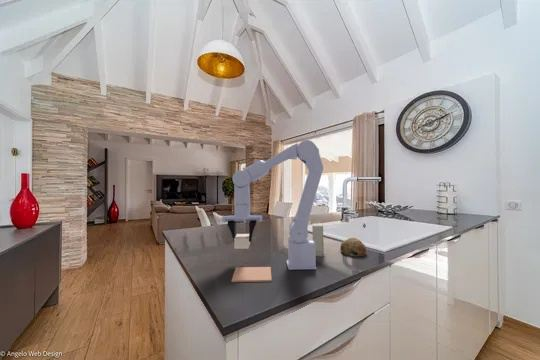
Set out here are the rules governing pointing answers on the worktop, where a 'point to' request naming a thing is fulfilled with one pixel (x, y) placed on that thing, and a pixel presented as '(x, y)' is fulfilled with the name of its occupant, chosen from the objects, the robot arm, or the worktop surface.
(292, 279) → the worktop surface
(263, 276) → the mat
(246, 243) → the card box
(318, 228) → the skincare box
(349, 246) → the brown rounded lump
